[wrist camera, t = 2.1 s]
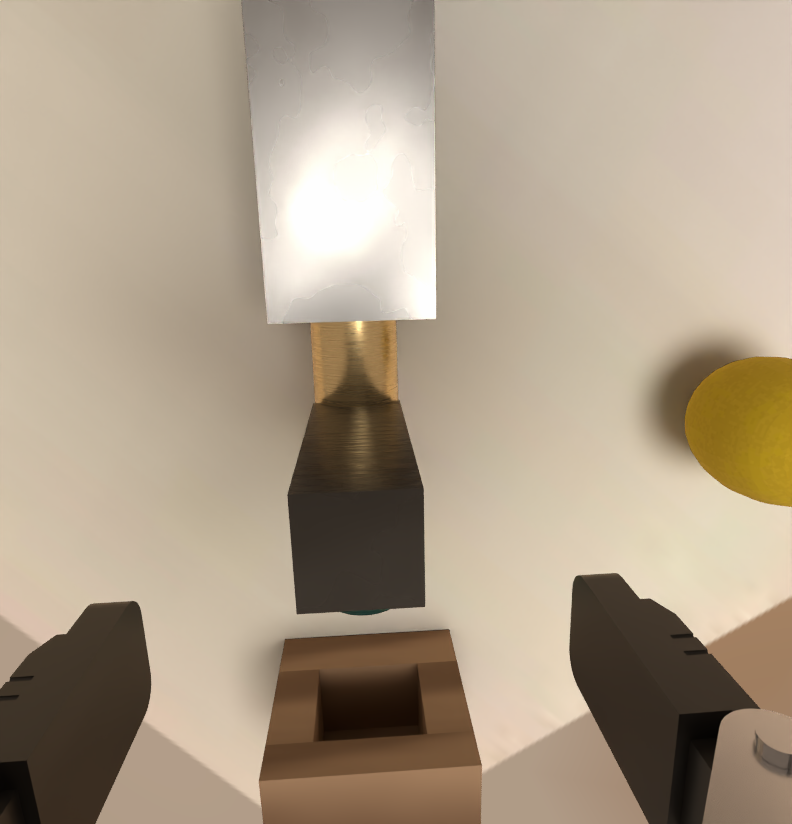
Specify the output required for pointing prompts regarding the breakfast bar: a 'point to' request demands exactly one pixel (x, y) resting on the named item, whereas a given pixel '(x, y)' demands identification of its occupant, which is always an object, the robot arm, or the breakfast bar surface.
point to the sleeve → (344, 157)
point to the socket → (371, 734)
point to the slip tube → (356, 480)
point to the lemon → (746, 427)
